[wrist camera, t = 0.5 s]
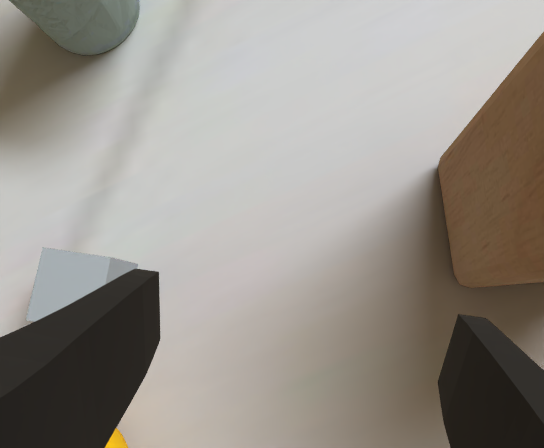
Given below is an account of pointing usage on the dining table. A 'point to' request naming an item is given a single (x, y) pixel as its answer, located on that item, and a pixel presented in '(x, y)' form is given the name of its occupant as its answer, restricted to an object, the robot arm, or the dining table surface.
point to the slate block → (70, 279)
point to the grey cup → (83, 22)
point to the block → (499, 183)
